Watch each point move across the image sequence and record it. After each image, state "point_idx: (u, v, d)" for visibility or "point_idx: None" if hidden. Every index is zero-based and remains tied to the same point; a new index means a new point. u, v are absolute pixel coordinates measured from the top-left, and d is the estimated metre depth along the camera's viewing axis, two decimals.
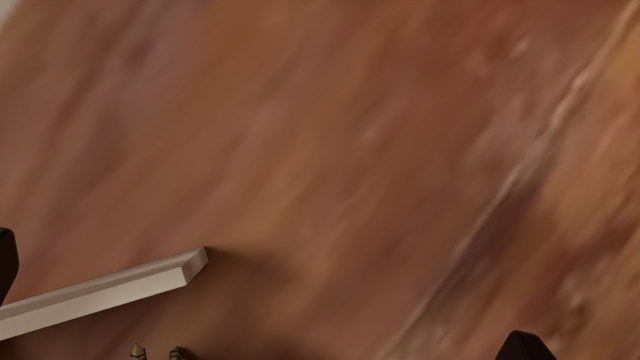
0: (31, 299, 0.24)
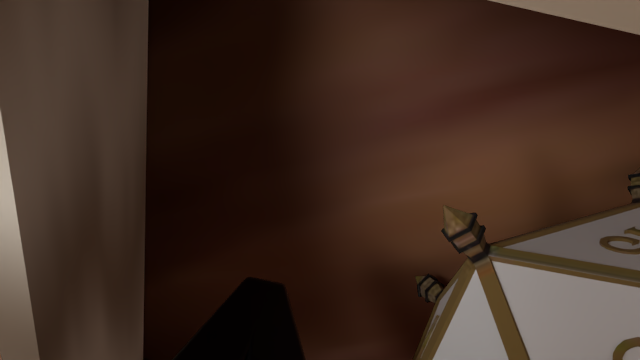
0: None
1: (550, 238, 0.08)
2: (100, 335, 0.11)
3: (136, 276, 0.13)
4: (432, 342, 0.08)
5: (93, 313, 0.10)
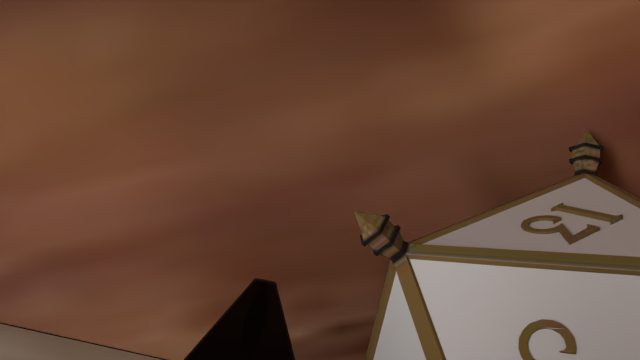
0: None
1: (473, 227, 0.08)
2: None
3: None
4: (370, 344, 0.08)
5: None
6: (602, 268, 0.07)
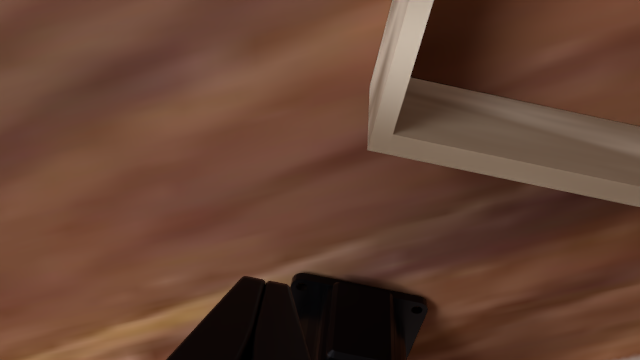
0: None
1: None
2: None
3: None
4: None
5: None
6: None
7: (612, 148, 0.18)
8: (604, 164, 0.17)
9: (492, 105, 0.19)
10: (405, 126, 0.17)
